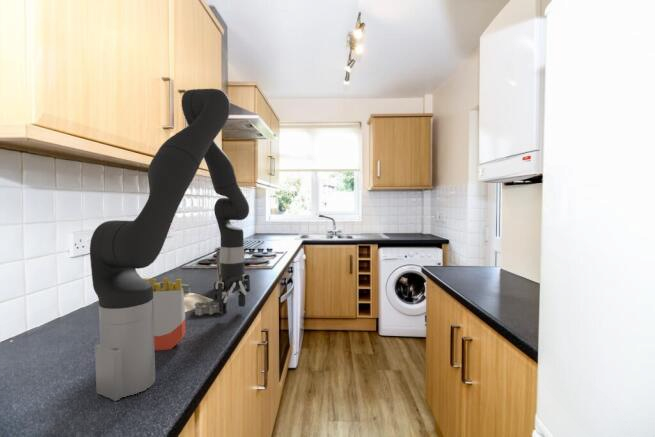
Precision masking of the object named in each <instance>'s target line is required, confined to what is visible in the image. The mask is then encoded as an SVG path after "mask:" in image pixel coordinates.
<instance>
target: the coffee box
mask: <svg viewBox="0 0 655 437" xmlns="http://www.w3.org/2000/svg"><path fill="white" fill-rule="evenodd" d="M220 250H221V249H218V250H216V282H222V276H221V275H220Z"/></svg>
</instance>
